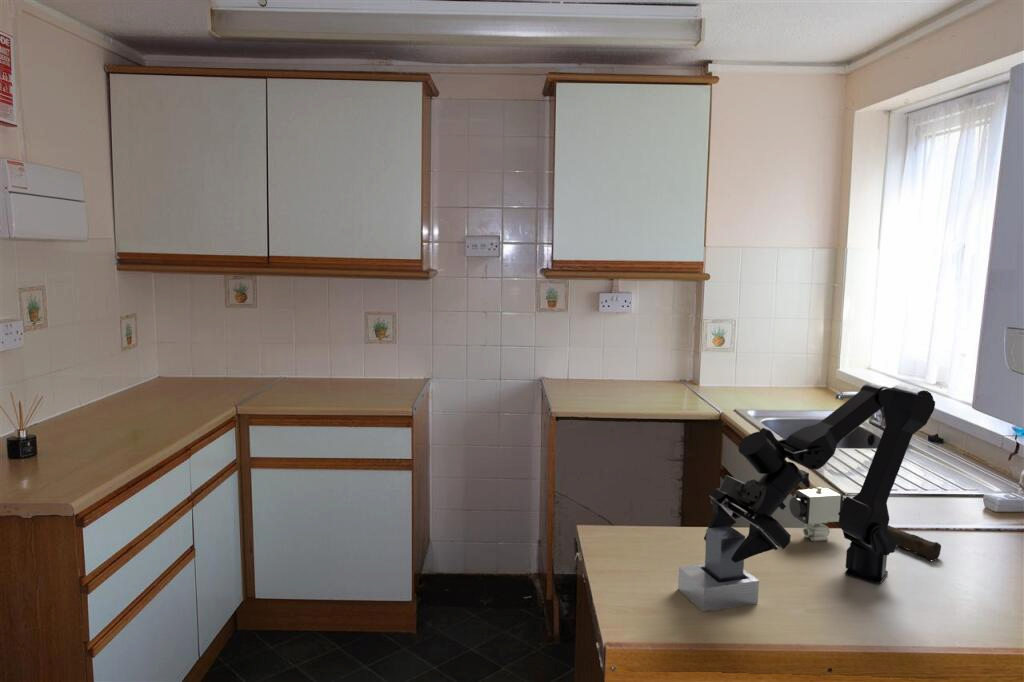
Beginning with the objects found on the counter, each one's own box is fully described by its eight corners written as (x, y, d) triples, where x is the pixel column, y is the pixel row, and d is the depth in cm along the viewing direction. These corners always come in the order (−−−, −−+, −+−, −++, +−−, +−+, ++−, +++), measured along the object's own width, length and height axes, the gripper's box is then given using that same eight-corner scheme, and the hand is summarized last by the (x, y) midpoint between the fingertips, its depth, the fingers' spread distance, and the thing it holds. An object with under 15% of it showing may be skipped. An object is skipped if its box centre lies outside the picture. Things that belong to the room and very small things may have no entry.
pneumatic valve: (845, 541, 161) (849, 489, 159) (798, 544, 158) (802, 492, 157) (830, 531, 166) (833, 481, 164) (784, 534, 164) (787, 484, 162)
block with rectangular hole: (730, 581, 140) (731, 560, 140) (757, 603, 132) (758, 580, 131) (678, 589, 137) (679, 566, 136) (702, 611, 129) (703, 588, 128)
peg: (726, 587, 138) (729, 525, 136) (741, 600, 133) (745, 536, 131) (703, 591, 136) (706, 528, 135) (718, 603, 132) (721, 539, 130)
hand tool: (941, 559, 152) (943, 539, 151) (929, 563, 150) (931, 542, 150) (864, 528, 169) (865, 509, 168) (852, 531, 167) (853, 512, 166)
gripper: (720, 447, 141) (668, 506, 140) (780, 477, 124) (721, 544, 122) (752, 482, 145) (702, 540, 143) (815, 516, 127) (758, 582, 125)
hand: (718, 550), depth 133 cm, fingers open, 9 cm apart
